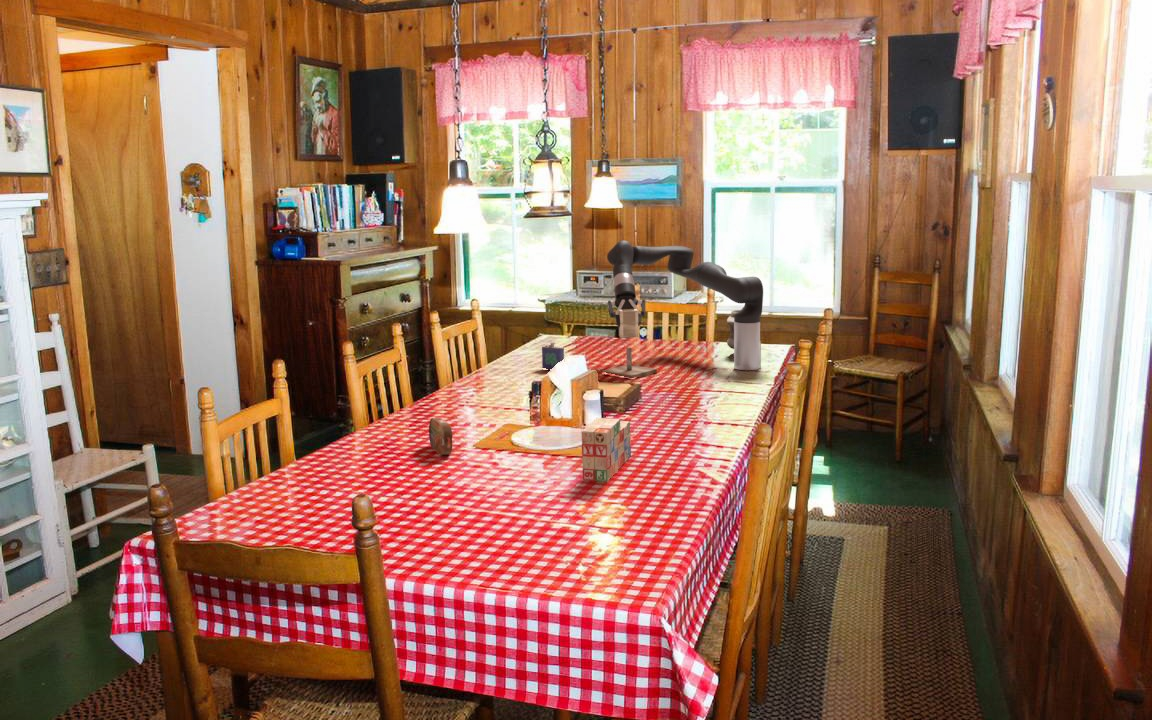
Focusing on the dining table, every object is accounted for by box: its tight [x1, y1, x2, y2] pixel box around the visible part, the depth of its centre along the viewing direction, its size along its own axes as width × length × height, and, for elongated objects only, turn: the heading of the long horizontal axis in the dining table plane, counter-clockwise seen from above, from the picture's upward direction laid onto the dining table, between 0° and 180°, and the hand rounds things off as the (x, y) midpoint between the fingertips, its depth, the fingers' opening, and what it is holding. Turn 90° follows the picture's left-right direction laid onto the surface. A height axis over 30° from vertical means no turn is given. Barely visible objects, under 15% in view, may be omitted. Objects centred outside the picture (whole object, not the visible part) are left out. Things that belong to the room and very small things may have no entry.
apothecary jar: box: [726, 309, 741, 358], centre depth 362 cm, size 12×12×18 cm
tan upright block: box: [618, 309, 640, 339], centre depth 334 cm, size 5×6×10 cm
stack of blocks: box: [581, 417, 632, 482], centre depth 228 cm, size 21×6×12 cm, turn 162°
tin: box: [428, 417, 453, 456], centre depth 247 cm, size 15×3×8 cm, turn 23°
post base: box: [601, 347, 658, 378], centre depth 336 cm, size 14×14×10 cm
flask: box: [541, 341, 565, 370], centre depth 346 cm, size 9×3×11 cm, turn 61°
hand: (629, 325), depth 332 cm, fingers closed on tan upright block, 6 cm apart
